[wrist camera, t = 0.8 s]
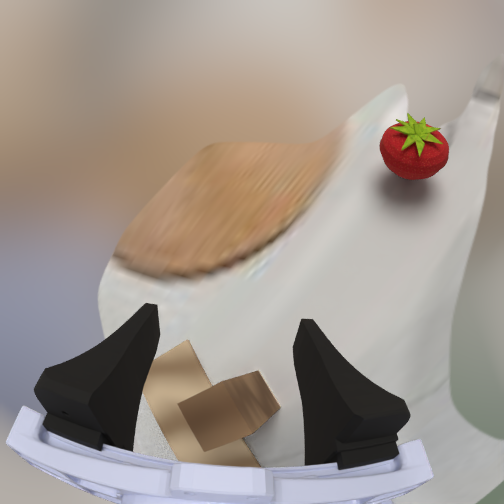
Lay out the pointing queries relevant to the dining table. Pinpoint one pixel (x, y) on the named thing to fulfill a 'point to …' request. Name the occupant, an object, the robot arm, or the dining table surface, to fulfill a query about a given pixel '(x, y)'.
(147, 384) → the light wood flat board
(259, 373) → the walnut block
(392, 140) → the strawberry
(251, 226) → the dining table surface
